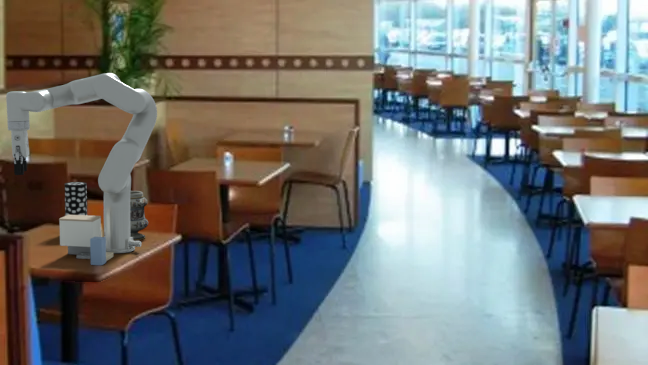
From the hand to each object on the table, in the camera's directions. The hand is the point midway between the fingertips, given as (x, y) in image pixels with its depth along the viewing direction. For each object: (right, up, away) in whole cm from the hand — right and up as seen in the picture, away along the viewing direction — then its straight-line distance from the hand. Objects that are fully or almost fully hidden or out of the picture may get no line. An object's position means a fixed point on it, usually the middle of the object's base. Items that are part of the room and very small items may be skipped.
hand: (20, 173), depth 353 cm
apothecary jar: (+35, -25, +28) cm, 51 cm away
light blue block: (+33, -31, -12) cm, 46 cm away
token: (+25, -30, -7) cm, 40 cm away
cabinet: (+23, -30, -6) cm, 38 cm away
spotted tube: (+12, -24, +34) cm, 43 cm away
